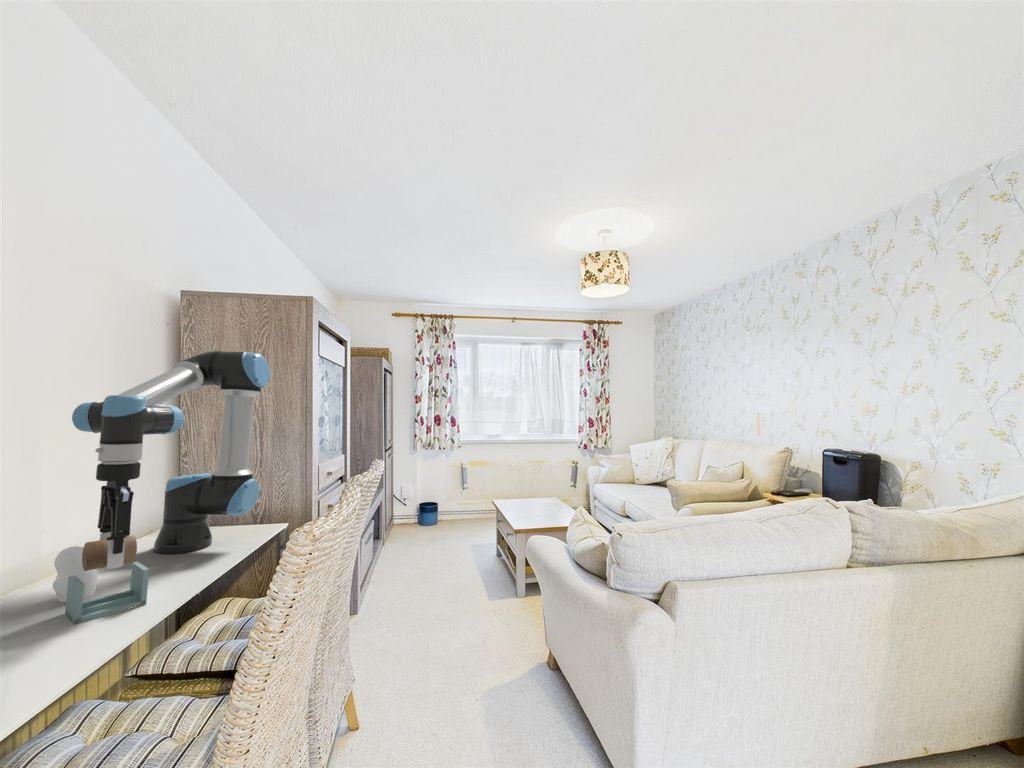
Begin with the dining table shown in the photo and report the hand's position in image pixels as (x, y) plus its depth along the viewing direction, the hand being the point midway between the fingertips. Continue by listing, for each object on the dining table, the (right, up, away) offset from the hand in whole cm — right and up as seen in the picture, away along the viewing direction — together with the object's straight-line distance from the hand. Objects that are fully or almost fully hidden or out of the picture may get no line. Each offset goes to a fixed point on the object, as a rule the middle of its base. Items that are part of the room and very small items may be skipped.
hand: (110, 564), depth 99 cm
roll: (0, +3, 0) cm, 3 cm away
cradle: (0, -10, 0) cm, 10 cm away
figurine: (-13, -10, +4) cm, 17 cm away
